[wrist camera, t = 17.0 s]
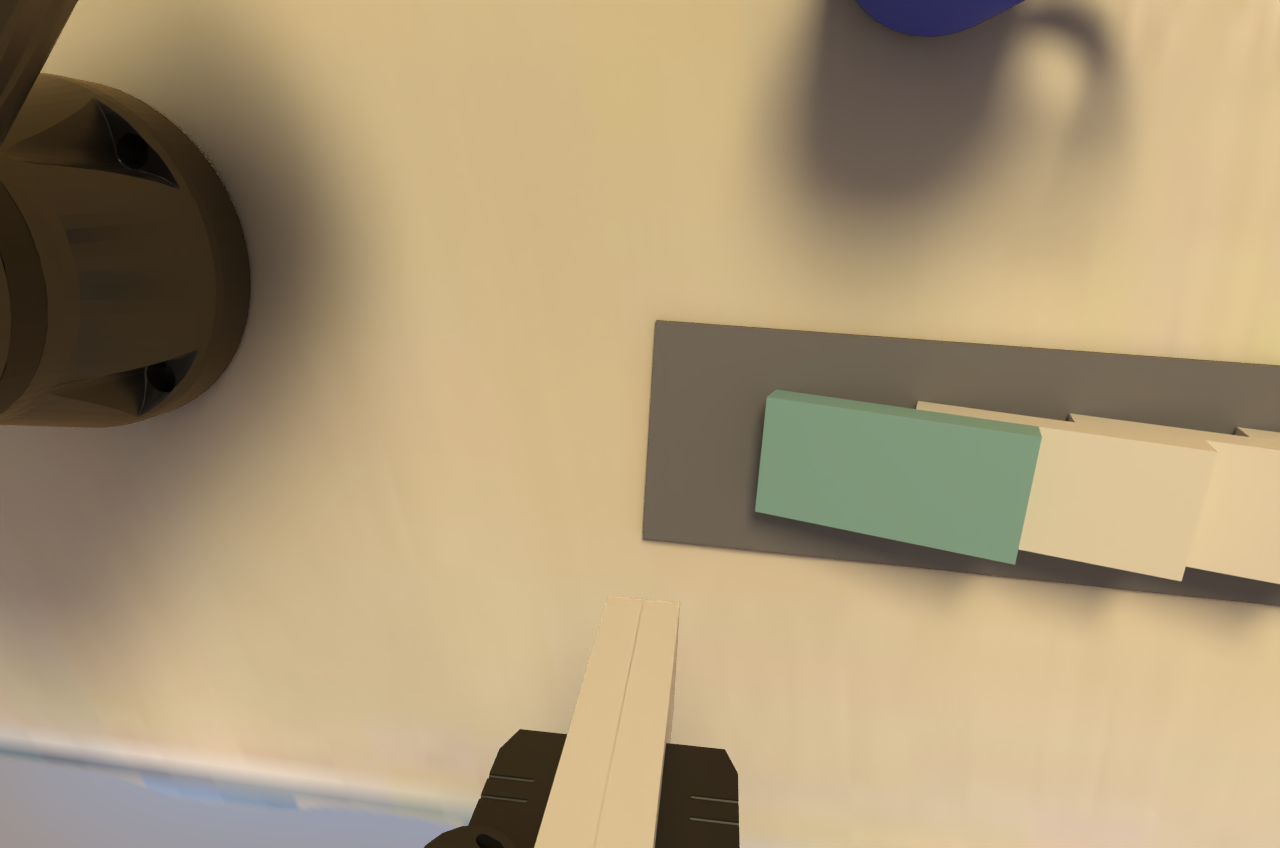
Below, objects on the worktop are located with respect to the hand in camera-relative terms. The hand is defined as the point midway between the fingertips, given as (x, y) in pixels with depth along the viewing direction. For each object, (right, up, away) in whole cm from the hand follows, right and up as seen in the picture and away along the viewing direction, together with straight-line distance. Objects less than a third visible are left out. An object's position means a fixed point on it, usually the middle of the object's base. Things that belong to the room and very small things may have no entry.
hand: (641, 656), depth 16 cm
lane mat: (+17, +3, +16) cm, 24 cm away
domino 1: (+11, +3, +15) cm, 19 cm away
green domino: (+5, +4, +16) cm, 17 cm away
